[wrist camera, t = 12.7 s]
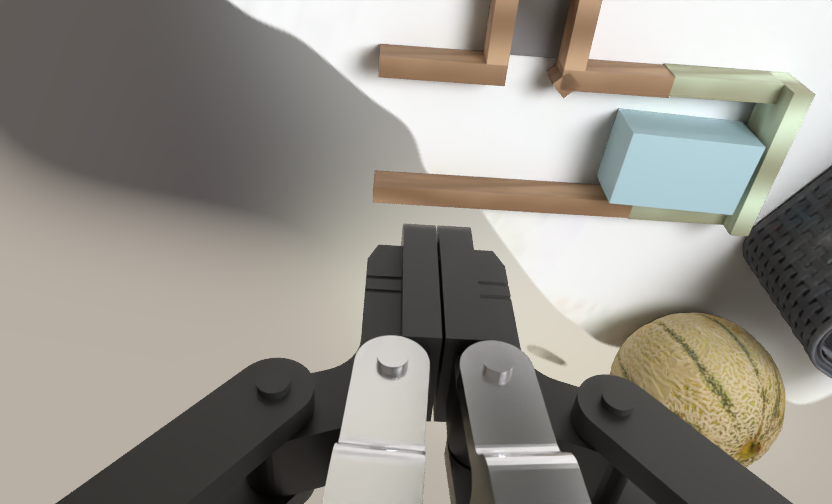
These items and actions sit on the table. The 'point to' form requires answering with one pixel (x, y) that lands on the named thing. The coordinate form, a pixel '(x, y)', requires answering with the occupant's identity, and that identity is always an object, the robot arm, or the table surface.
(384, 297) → the robot arm
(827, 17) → the table surface
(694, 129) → the block
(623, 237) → the table surface
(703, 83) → the maze
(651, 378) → the cantaloupe
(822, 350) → the storage bin
